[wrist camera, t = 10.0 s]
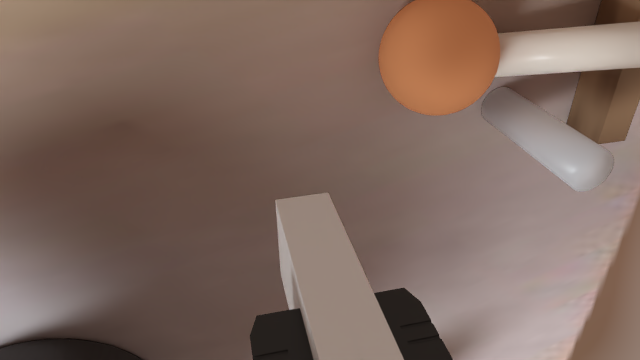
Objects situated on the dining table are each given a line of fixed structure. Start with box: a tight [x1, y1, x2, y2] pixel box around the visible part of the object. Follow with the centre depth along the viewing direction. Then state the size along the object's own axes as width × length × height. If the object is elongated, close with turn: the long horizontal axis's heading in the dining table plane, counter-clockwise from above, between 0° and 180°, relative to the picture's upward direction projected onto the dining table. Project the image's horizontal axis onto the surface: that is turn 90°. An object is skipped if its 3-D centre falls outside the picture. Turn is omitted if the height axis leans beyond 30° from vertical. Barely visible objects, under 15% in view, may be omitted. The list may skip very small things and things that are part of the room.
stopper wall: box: [567, 0, 640, 144], centre depth 29 cm, size 11×2×3 cm, turn 0°
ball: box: [379, 0, 500, 115], centre depth 25 cm, size 6×6×6 cm
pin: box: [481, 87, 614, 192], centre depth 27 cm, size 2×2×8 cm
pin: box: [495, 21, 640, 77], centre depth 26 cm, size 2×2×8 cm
